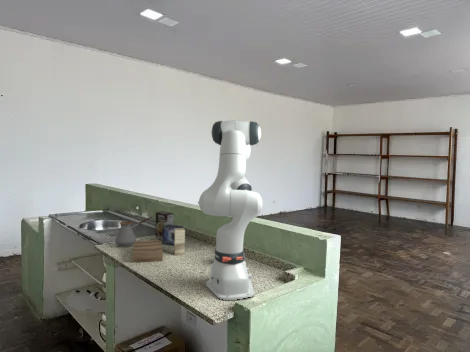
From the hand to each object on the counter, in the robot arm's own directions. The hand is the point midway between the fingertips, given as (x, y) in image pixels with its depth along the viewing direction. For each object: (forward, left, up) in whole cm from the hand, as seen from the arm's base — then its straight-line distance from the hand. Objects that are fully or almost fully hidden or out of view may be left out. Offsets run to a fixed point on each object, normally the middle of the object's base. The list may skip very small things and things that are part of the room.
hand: (200, 205), depth 172 cm
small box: (+20, +13, -26) cm, 35 cm away
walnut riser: (+1, +27, -26) cm, 37 cm away
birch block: (+1, +11, -26) cm, 28 cm away
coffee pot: (+23, +34, -26) cm, 49 cm away
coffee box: (+33, +17, -26) cm, 45 cm away
